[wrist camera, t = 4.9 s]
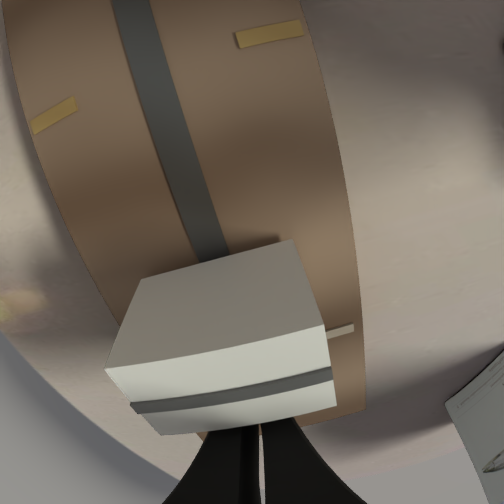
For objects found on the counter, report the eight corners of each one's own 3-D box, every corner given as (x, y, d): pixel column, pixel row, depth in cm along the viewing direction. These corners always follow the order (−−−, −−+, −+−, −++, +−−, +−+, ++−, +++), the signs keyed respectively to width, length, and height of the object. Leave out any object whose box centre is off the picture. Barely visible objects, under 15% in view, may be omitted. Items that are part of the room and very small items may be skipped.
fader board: (356, 382, 17) (366, 410, 15) (205, 415, 17) (204, 444, 15) (228, -128, 5) (227, -155, 3) (24, -45, 6) (-2, -57, 4)
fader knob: (309, 314, 11) (337, 408, 7) (176, 345, 11) (160, 438, 8) (292, 238, 10) (325, 327, 6) (141, 279, 10) (102, 371, 6)
